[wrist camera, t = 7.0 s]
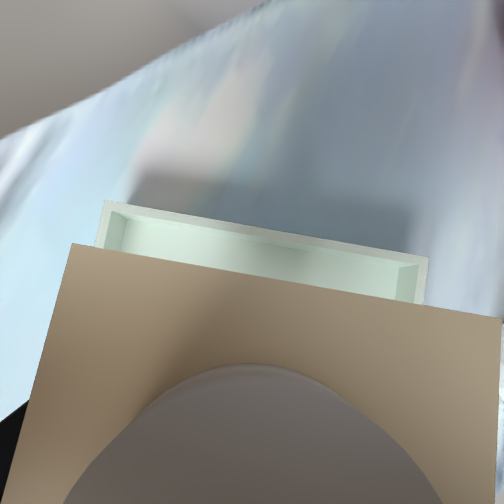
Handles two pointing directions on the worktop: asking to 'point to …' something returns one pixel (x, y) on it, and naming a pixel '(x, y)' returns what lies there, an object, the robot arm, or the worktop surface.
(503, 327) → the white cup
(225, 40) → the worktop surface
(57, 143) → the worktop surface
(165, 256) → the tray
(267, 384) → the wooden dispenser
